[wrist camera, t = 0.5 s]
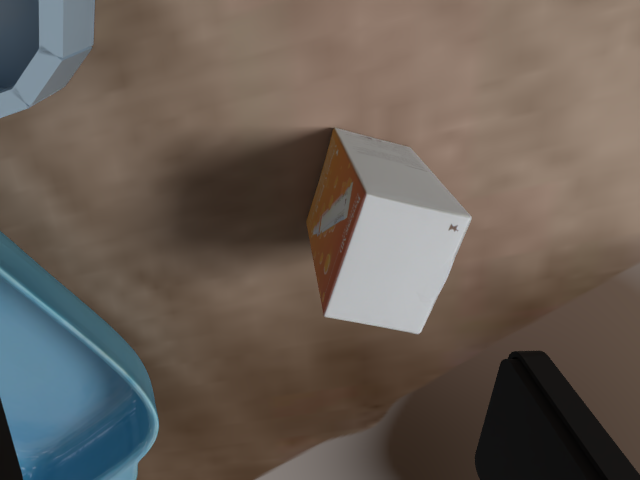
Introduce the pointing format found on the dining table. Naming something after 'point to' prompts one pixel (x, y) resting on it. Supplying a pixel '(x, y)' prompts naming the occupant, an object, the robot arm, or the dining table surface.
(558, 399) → the robot arm
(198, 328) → the dining table surface
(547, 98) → the dining table surface
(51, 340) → the casserole dish
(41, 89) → the bowl
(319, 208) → the small box
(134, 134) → the dining table surface
